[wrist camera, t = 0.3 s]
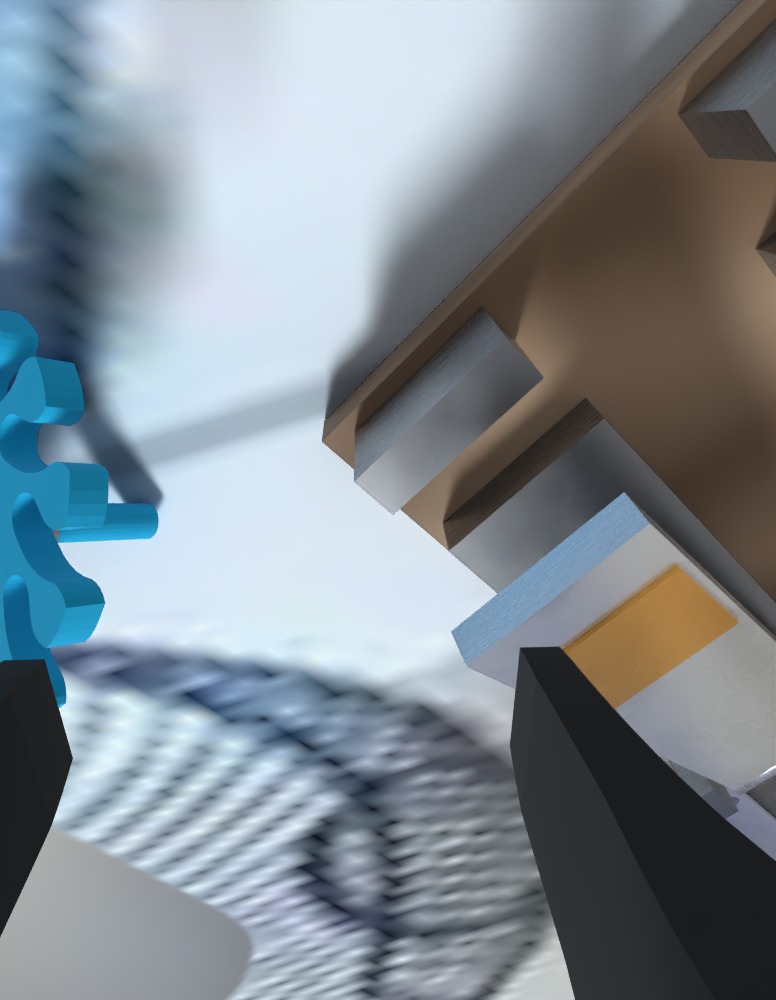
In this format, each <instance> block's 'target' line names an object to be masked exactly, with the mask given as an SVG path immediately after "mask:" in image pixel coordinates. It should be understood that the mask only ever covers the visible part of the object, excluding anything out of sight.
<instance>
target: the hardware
mask: <svg viewBox="0 0 776 1000" xmlns="http://www.w3.org/2000/svg"><path fill="white" fill-rule="evenodd" d="M678 116H679V117H680V118H681V120H682V121H683V123H684V124H685V125H686V127H687V128H688V130H689V131H690V132H691V134H692V135H693V137H694V138H695V139H696V141H697V142H698V144H699V145H700V146H701V148H702V149H703V151H704V152H705V153H706V155H707V156H708V158H717V159H733V160H749V161H765V162H776V18H775V19H774V20H773V21H772V22H771V23H770V24H769V25H768V26H767V27H766V28H765V29H764V30H763V31H762V32H761V33H760V34H759V35H758V36H757V37H756V38H755V39H754V40H753V41H752V42H750V43H749V44H748V45H747V46H746V47H745V48H744V49H743V50H742V51H741V52H740V53H739V54H738V55H737V56H736V57H735V58H734V59H733V60H732V61H731V62H730V63H729V64H728V65H727V66H726V67H725V68H724V69H723V70H722V71H721V72H720V73H719V74H718V75H717V76H716V77H715V78H714V79H713V80H712V81H711V82H710V83H709V84H708V85H707V86H706V87H705V88H704V89H703V90H702V91H701V92H700V93H699V94H697V95H696V96H695V97H694V98H693V99H692V100H691V101H690V102H689V103H688V104H687V105H686V106H685V107H684V108H683V109H682V110H681V111H680V112H679V113H678ZM756 251H757V252H758V253H759V255H760V256H761V257H762V259H763V260H764V262H765V263H766V264H767V266H768V267H769V269H770V270H771V271H772V273H773V274H774V275H775V277H776V231H775V232H774V233H773V234H772V235H771V236H769V237H768V238H767V239H766V240H765V241H764V242H763V243H761V244H760V245H759V246H758V247H757V248H756ZM542 379H544V377H543V376H542V374H541V373H540V372H539V371H538V369H537V368H536V367H535V365H534V364H533V363H532V362H531V360H530V359H529V358H528V356H527V355H526V354H525V352H524V351H523V350H522V349H521V347H520V346H519V345H518V343H517V342H516V341H515V340H514V339H513V337H512V336H511V335H510V334H509V333H508V332H507V331H506V330H505V329H504V328H503V327H502V326H501V325H500V324H499V323H498V322H497V320H496V319H495V318H494V317H493V316H492V315H491V314H490V313H489V312H488V311H487V310H486V309H485V308H484V307H483V306H481V307H480V308H479V309H478V310H477V311H476V312H475V313H474V314H473V315H472V316H471V317H470V318H469V319H468V320H467V321H466V322H465V323H464V324H463V325H462V326H461V327H460V328H459V329H458V330H457V331H456V332H455V333H454V334H453V335H452V336H451V337H450V338H449V339H448V340H447V341H446V342H445V343H444V344H443V345H442V346H441V347H440V348H439V349H438V350H436V351H435V352H434V353H433V354H432V355H431V356H430V357H429V358H428V359H427V360H426V361H425V362H424V363H423V364H422V365H421V366H420V367H419V368H418V369H417V370H416V371H415V372H414V373H413V374H412V375H411V376H410V377H409V378H408V379H407V380H406V381H405V382H404V383H403V384H402V385H401V386H400V387H399V388H398V389H397V390H396V391H395V392H394V393H393V394H392V395H391V396H390V397H389V398H388V399H387V400H386V401H384V402H383V403H382V404H381V405H380V406H379V407H378V408H377V409H376V410H375V411H374V412H373V413H372V414H371V415H370V416H369V417H368V418H367V419H366V420H365V421H364V422H363V423H362V424H361V425H360V426H359V427H358V428H357V429H356V430H355V449H354V482H355V483H356V484H357V485H359V486H360V487H361V488H362V489H363V490H365V491H366V492H367V493H368V494H369V495H370V496H372V497H373V498H374V499H375V500H376V501H377V502H379V503H380V504H381V505H382V506H383V507H384V508H386V509H387V510H388V511H389V512H390V513H391V514H393V515H394V514H395V513H396V512H397V511H398V510H399V509H400V508H401V507H402V506H404V505H405V504H406V503H407V502H408V501H409V500H410V499H411V498H412V497H413V496H415V495H416V494H417V493H418V492H419V491H420V490H421V489H422V488H423V487H425V486H426V485H427V484H428V483H429V482H430V481H431V480H432V479H433V478H434V477H436V476H437V475H438V474H439V473H440V472H441V471H442V470H443V469H444V468H445V467H447V466H448V465H449V464H450V463H451V462H452V461H453V460H454V459H455V458H456V457H458V456H459V455H460V454H461V453H462V452H463V451H464V450H465V449H466V448H468V447H469V446H470V445H471V444H472V443H473V442H474V441H475V440H476V439H477V438H479V437H480V436H481V435H482V434H483V433H484V432H485V431H486V430H487V429H488V428H490V427H491V426H492V425H493V424H494V423H495V422H496V421H497V420H498V419H499V418H501V417H502V416H503V415H504V414H505V413H506V412H507V411H508V410H509V409H511V408H512V407H513V406H514V405H515V404H516V403H517V402H518V401H519V400H520V399H522V398H523V397H524V396H525V395H526V394H527V393H528V392H529V391H530V390H531V389H533V388H534V387H535V386H536V385H537V384H538V383H539V382H540V381H541V380H542ZM623 492H625V493H626V494H627V495H628V496H629V497H630V498H631V499H632V500H633V501H634V502H635V503H636V504H637V505H638V506H639V507H640V508H641V509H643V510H644V511H645V512H646V513H647V514H648V515H649V516H650V517H651V518H652V519H653V520H654V521H655V522H656V523H657V524H658V525H659V526H660V527H661V528H662V529H663V530H664V531H666V532H667V533H668V534H669V535H670V536H671V537H672V538H673V539H674V540H675V541H676V542H677V543H678V544H679V545H680V546H681V547H682V548H683V549H684V550H685V551H686V552H687V553H689V554H690V555H691V556H692V557H693V558H694V559H695V560H696V561H697V562H698V563H699V564H700V565H701V566H702V567H703V568H704V569H705V570H706V571H707V572H708V573H709V574H710V575H712V576H713V577H714V578H715V579H716V580H717V581H718V582H719V583H720V584H721V585H722V586H723V587H724V588H725V589H726V590H727V591H728V592H729V593H730V594H731V595H732V596H733V597H735V598H736V599H737V600H738V601H739V602H740V603H741V604H742V605H743V606H744V607H745V608H746V609H747V610H748V611H749V612H750V613H751V614H752V615H753V616H754V617H755V618H756V619H758V620H759V621H760V622H761V623H762V624H763V625H764V626H765V627H766V628H767V629H768V630H769V631H770V632H771V633H772V634H773V635H774V636H775V637H776V602H775V601H774V600H773V599H772V598H771V597H770V595H769V594H768V593H767V592H766V591H765V590H764V589H763V588H762V587H761V586H760V585H759V584H758V583H757V581H756V580H755V579H754V578H753V577H752V576H751V575H750V574H749V573H748V572H747V571H746V570H745V568H744V567H743V566H742V565H741V564H740V563H739V562H738V561H737V560H736V559H735V558H734V557H733V556H732V554H731V553H730V552H729V551H728V550H727V549H726V548H725V547H724V546H723V545H722V544H721V543H720V542H719V540H718V539H717V538H716V537H715V536H714V535H713V534H712V533H711V532H710V531H709V530H708V529H707V528H706V526H705V525H704V524H703V523H702V522H701V521H700V520H699V519H698V518H697V517H696V516H695V515H694V514H693V512H692V511H691V510H690V509H689V508H688V507H687V506H686V505H685V504H684V503H683V502H682V501H681V500H680V498H679V497H678V496H677V495H676V494H675V493H674V492H673V491H672V490H671V489H670V488H669V487H668V486H667V484H666V483H665V482H664V481H663V480H662V479H661V478H660V477H659V476H658V475H657V474H656V473H655V471H654V470H653V469H652V468H651V467H650V466H649V465H648V464H647V463H646V462H645V461H644V460H643V459H642V457H641V456H640V455H639V454H638V453H637V452H636V451H635V450H634V449H633V448H632V447H631V446H630V445H629V443H628V442H627V441H626V440H625V439H624V438H623V437H622V436H621V435H620V434H619V433H618V432H617V431H616V429H615V428H614V427H613V426H612V425H611V424H610V423H609V422H608V421H607V420H606V419H605V418H604V417H603V415H602V414H601V413H600V412H599V411H598V410H597V409H596V408H595V407H594V406H593V405H592V404H591V403H590V401H589V400H588V399H587V398H584V399H583V400H582V401H581V402H580V403H579V404H578V405H576V406H575V407H574V408H573V409H572V410H571V411H570V412H568V413H567V414H566V415H565V416H564V417H563V418H562V419H560V420H559V421H558V422H557V423H556V424H555V425H554V426H552V427H551V428H550V429H549V430H548V431H547V432H546V433H544V434H543V435H542V436H541V437H540V438H539V439H538V440H536V441H535V442H534V443H533V444H532V445H531V446H530V447H528V448H527V449H526V450H525V451H524V452H523V453H522V454H521V455H519V456H518V457H517V458H516V459H515V460H514V461H513V462H511V463H510V464H509V465H508V466H507V467H506V468H505V469H503V470H502V471H501V472H500V473H499V474H498V475H497V476H495V477H494V478H493V479H492V480H491V481H490V482H489V483H487V484H486V485H485V486H484V487H483V488H482V489H481V490H479V491H478V492H477V493H476V494H475V495H474V496H473V497H471V498H470V499H469V500H468V501H467V502H466V503H465V504H463V505H462V506H461V507H460V508H459V509H458V510H457V511H455V512H454V513H453V514H452V515H451V516H450V517H449V518H447V519H446V520H445V521H444V522H443V527H444V532H445V536H446V541H447V545H448V550H449V552H450V553H451V554H453V555H454V556H455V557H456V558H457V559H458V560H459V561H461V562H462V563H463V564H464V565H465V566H466V567H468V568H469V569H470V570H471V571H472V572H473V573H475V574H476V575H477V576H478V577H479V578H480V579H482V580H483V581H484V582H485V583H486V584H487V585H489V586H490V587H491V588H492V589H493V590H494V591H495V592H497V593H500V592H501V591H502V590H503V589H505V588H506V587H507V586H508V585H510V584H511V583H512V582H513V581H515V580H516V579H517V578H518V577H519V576H521V575H522V574H523V573H524V572H526V571H527V570H528V569H529V568H531V567H532V566H533V565H534V564H536V563H537V562H538V561H539V560H541V559H542V558H543V557H544V556H545V555H547V554H548V553H549V552H550V551H552V550H553V549H554V548H555V547H557V546H558V545H559V544H560V543H562V542H563V541H564V540H565V539H567V538H568V537H569V536H570V535H571V534H573V533H574V532H575V531H576V530H578V529H579V528H580V527H581V526H583V525H584V524H585V523H586V522H588V521H589V520H590V519H591V518H593V517H594V516H595V515H596V514H597V513H599V512H600V511H601V510H602V509H604V508H605V507H606V506H607V505H609V504H610V503H611V502H612V501H614V500H615V499H616V498H617V497H619V496H620V495H621V494H622V493H623ZM670 762H671V764H672V766H673V768H674V770H675V772H676V774H677V775H678V776H679V777H681V778H682V779H683V780H684V781H685V782H686V783H687V784H688V785H689V786H690V787H691V788H692V789H693V790H694V791H695V792H696V793H697V794H698V795H699V796H701V797H702V798H703V799H704V800H705V801H706V802H707V803H708V804H709V805H710V806H711V807H712V808H714V809H715V810H716V811H717V812H718V813H719V814H720V815H721V816H722V817H724V818H725V819H726V818H728V817H730V816H731V815H733V814H735V813H736V812H738V811H739V810H738V809H737V807H736V805H735V803H734V802H733V800H732V798H731V796H730V794H729V793H728V791H727V789H726V787H725V786H724V785H722V784H719V783H717V782H715V781H713V780H711V779H709V778H706V777H704V776H702V775H700V774H698V773H696V772H693V771H691V770H689V769H687V768H685V767H683V766H681V765H678V764H676V763H674V762H672V761H670Z"/></svg>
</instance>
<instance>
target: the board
mask: <svg viewBox="0 0 776 1000" xmlns="http://www.w3.org/2000/svg"><path fill="white" fill-rule="evenodd" d="M775 18H776V0H742V1H741V2H740V3H739V4H738V5H737V6H736V7H735V8H734V9H733V10H732V11H731V12H730V13H729V14H728V15H727V16H726V17H725V18H724V19H723V20H722V21H721V22H720V23H719V24H718V25H717V26H716V27H715V28H714V29H713V30H712V31H711V32H710V33H709V34H708V35H707V36H706V37H705V38H704V39H703V41H702V42H701V43H700V44H699V45H698V46H697V47H696V48H695V49H694V50H693V51H692V52H691V53H690V54H689V55H688V56H687V57H686V58H685V59H684V60H683V61H682V62H681V63H680V64H679V65H678V66H677V67H676V68H675V69H674V70H673V71H672V72H671V73H670V74H669V75H668V76H667V77H666V78H665V79H664V80H663V81H662V82H661V83H660V84H659V85H658V86H657V87H656V88H655V89H654V90H653V91H652V92H651V93H650V94H649V95H648V96H647V97H646V98H645V99H644V100H643V101H642V102H641V103H640V104H639V105H638V106H637V107H636V108H635V109H634V110H633V111H632V112H631V113H630V114H629V115H628V116H627V117H626V118H625V119H624V120H623V121H622V122H621V123H620V124H619V125H618V126H617V127H616V128H615V129H614V130H613V131H612V132H611V133H610V134H609V135H608V136H607V137H606V138H605V139H604V140H603V141H602V142H601V143H600V144H599V145H598V146H597V147H596V148H595V149H594V150H593V151H592V152H591V153H590V154H589V155H588V156H587V157H586V158H585V159H584V160H583V161H582V162H581V163H580V164H579V165H578V166H577V167H576V168H575V169H574V170H573V171H572V172H571V173H570V174H569V175H568V176H567V177H566V178H565V179H564V180H563V181H562V182H561V183H560V184H559V185H558V186H557V187H556V188H555V189H554V190H553V191H552V192H551V193H550V194H549V195H548V196H547V197H546V198H545V199H544V200H543V201H542V202H541V203H540V204H539V205H538V206H537V207H536V208H535V209H534V210H533V212H532V213H531V214H530V215H529V216H528V217H527V218H526V219H525V220H524V221H523V222H522V223H521V224H520V225H519V226H518V227H517V228H516V229H515V230H514V231H513V232H512V233H511V234H510V235H509V236H508V237H507V238H506V239H505V240H504V241H503V242H502V243H501V244H500V245H499V246H498V247H497V248H496V249H495V250H494V251H493V252H492V253H491V254H490V255H489V256H488V257H487V258H486V259H485V260H484V261H483V262H482V263H481V264H480V265H479V266H478V267H477V268H476V269H475V270H474V271H473V272H472V273H471V274H470V275H469V276H468V277H467V278H466V279H465V280H464V281H463V282H462V283H461V284H460V285H459V286H458V287H457V288H456V289H455V290H454V291H453V292H452V293H451V294H450V295H449V296H448V297H447V298H446V299H445V300H444V301H443V302H442V303H441V304H440V305H439V306H438V307H437V308H436V309H435V310H434V311H433V312H432V313H431V314H430V315H429V316H428V317H427V318H426V319H425V320H424V321H423V322H422V323H421V324H420V325H419V326H418V327H417V328H416V329H415V330H414V331H413V332H412V333H411V334H410V335H409V336H408V337H407V338H406V339H405V340H404V341H403V342H402V343H401V344H400V345H399V346H398V347H397V348H396V349H395V350H394V351H393V352H392V353H391V354H390V355H389V356H388V357H387V358H386V359H385V360H384V361H383V362H382V363H381V364H380V365H379V366H378V367H377V368H376V369H375V370H374V371H373V372H372V373H371V374H370V375H369V376H368V377H367V378H366V379H365V380H364V382H363V383H362V384H361V385H360V386H359V387H358V388H357V389H356V390H355V391H354V392H353V393H352V394H351V395H350V396H349V397H348V398H347V399H346V400H345V401H344V402H343V403H342V404H341V405H340V406H339V407H338V408H337V409H336V410H335V411H334V412H333V413H332V414H331V415H330V416H329V417H328V418H327V419H326V420H325V421H324V429H323V437H322V442H323V443H324V444H325V445H326V446H328V447H329V448H330V449H331V450H332V451H333V452H335V453H336V454H337V455H338V456H339V457H340V458H342V459H343V460H344V461H345V462H346V463H347V464H349V465H350V466H351V467H352V468H353V469H354V449H355V430H356V429H357V428H358V427H359V426H360V425H361V424H362V423H363V422H364V421H365V420H366V419H367V418H368V417H369V416H370V415H371V414H372V413H373V412H374V411H375V410H376V409H377V408H378V407H379V406H380V405H381V404H382V403H383V402H384V401H386V400H387V399H388V398H389V397H390V396H391V395H392V394H393V393H394V392H395V391H396V390H397V389H398V388H399V387H400V386H401V385H402V384H403V383H404V382H405V381H406V380H407V379H408V378H409V377H410V376H411V375H412V374H413V373H414V372H415V371H416V370H417V369H418V368H419V367H420V366H421V365H422V364H423V363H424V362H425V361H426V360H427V359H428V358H429V357H430V356H431V355H432V354H433V353H434V352H435V351H436V350H438V349H439V348H440V347H441V346H442V345H443V344H444V343H445V342H446V341H447V340H448V339H449V338H450V337H451V336H452V335H453V334H454V333H455V332H456V331H457V330H458V329H459V328H460V327H461V326H462V325H463V324H464V323H465V322H466V321H467V320H468V319H469V318H470V317H471V316H472V315H473V314H474V313H475V312H476V311H477V310H478V309H479V308H480V307H481V306H483V307H484V308H485V309H486V310H487V311H488V312H489V313H490V314H491V315H492V316H493V317H494V318H495V319H496V320H497V322H498V323H499V324H500V325H501V326H502V327H503V328H504V329H505V330H506V331H507V332H508V333H509V334H510V335H511V336H512V337H513V339H514V340H515V341H516V342H517V343H518V345H519V346H520V347H521V349H522V350H523V351H524V352H525V354H526V355H527V356H528V358H529V359H530V360H531V362H532V363H533V364H534V365H535V367H536V368H537V369H538V371H539V372H540V373H541V374H542V376H543V377H544V379H542V380H541V381H540V382H539V383H538V384H537V385H536V386H535V387H534V388H533V389H531V390H530V391H529V392H528V393H527V394H526V395H525V396H524V397H523V398H522V399H520V400H519V401H518V402H517V403H516V404H515V405H514V406H513V407H512V408H511V409H509V410H508V411H507V412H506V413H505V414H504V415H503V416H502V417H501V418H499V419H498V420H497V421H496V422H495V423H494V424H493V425H492V426H491V427H490V428H488V429H487V430H486V431H485V432H484V433H483V434H482V435H481V436H480V437H479V438H477V439H476V440H475V441H474V442H473V443H472V444H471V445H470V446H469V447H468V448H466V449H465V450H464V451H463V452H462V453H461V454H460V455H459V456H458V457H456V458H455V459H454V460H453V461H452V462H451V463H450V464H449V465H448V466H447V467H445V468H444V469H443V470H442V471H441V472H440V473H439V474H438V475H437V476H436V477H434V478H433V479H432V480H431V481H430V482H429V483H428V484H427V485H426V486H425V487H423V488H422V489H421V490H420V491H419V492H418V493H417V494H416V495H415V496H413V497H412V498H411V499H410V500H409V501H408V502H407V503H406V504H405V505H404V506H402V507H401V508H400V509H401V510H402V511H403V512H404V513H405V514H407V515H408V516H409V517H410V518H411V519H412V520H413V521H415V522H416V523H417V524H418V525H419V526H420V527H422V528H423V529H424V530H425V531H426V532H427V533H429V534H430V535H431V536H432V537H433V538H434V539H436V540H437V541H438V542H439V543H440V544H441V545H442V546H444V547H445V548H446V549H447V550H448V545H447V541H446V536H445V532H444V527H443V522H444V521H445V520H446V519H447V518H449V517H450V516H451V515H452V514H453V513H454V512H455V511H457V510H458V509H459V508H460V507H461V506H462V505H463V504H465V503H466V502H467V501H468V500H469V499H470V498H471V497H473V496H474V495H475V494H476V493H477V492H478V491H479V490H481V489H482V488H483V487H484V486H485V485H486V484H487V483H489V482H490V481H491V480H492V479H493V478H494V477H495V476H497V475H498V474H499V473H500V472H501V471H502V470H503V469H505V468H506V467H507V466H508V465H509V464H510V463H511V462H513V461H514V460H515V459H516V458H517V457H518V456H519V455H521V454H522V453H523V452H524V451H525V450H526V449H527V448H528V447H530V446H531V445H532V444H533V443H534V442H535V441H536V440H538V439H539V438H540V437H541V436H542V435H543V434H544V433H546V432H547V431H548V430H549V429H550V428H551V427H552V426H554V425H555V424H556V423H557V422H558V421H559V420H560V419H562V418H563V417H564V416H565V415H566V414H567V413H568V412H570V411H571V410H572V409H573V408H574V407H575V406H576V405H578V404H579V403H580V402H581V401H582V400H583V399H584V398H587V399H588V400H589V401H590V403H591V404H592V405H593V406H594V407H595V408H596V409H597V410H598V411H599V412H600V413H601V414H602V415H603V417H604V418H605V419H606V420H607V421H608V422H609V423H610V424H611V425H612V426H613V427H614V428H615V429H616V431H617V432H618V433H619V434H620V435H621V436H622V437H623V438H624V439H625V440H626V441H627V442H628V443H629V445H630V446H631V447H632V448H633V449H634V450H635V451H636V452H637V453H638V454H639V455H640V456H641V457H642V459H643V460H644V461H645V462H646V463H647V464H648V465H649V466H650V467H651V468H652V469H653V470H654V471H655V473H656V474H657V475H658V476H659V477H660V478H661V479H662V480H663V481H664V482H665V483H666V484H667V486H668V487H669V488H670V489H671V490H672V491H673V492H674V493H675V494H676V495H677V496H678V497H679V498H680V500H681V501H682V502H683V503H684V504H685V505H686V506H687V507H688V508H689V509H690V510H691V511H692V512H693V514H694V515H695V516H696V517H697V518H698V519H699V520H700V521H701V522H702V523H703V524H704V525H705V526H706V528H707V529H708V530H709V531H710V532H711V533H712V534H713V535H714V536H715V537H716V538H717V539H718V540H719V542H720V543H721V544H722V545H723V546H724V547H725V548H726V549H727V550H728V551H729V552H730V553H731V554H732V556H733V557H734V558H735V559H736V560H737V561H738V562H739V563H740V564H741V565H742V566H743V567H744V568H745V570H746V571H747V572H748V573H749V574H750V575H751V576H752V577H753V578H754V579H755V580H756V581H757V583H758V584H759V585H760V586H761V587H762V588H763V589H764V590H765V591H766V592H767V593H768V594H769V595H770V597H771V598H772V599H773V600H774V601H775V602H776V277H775V275H774V274H773V273H772V271H771V270H770V269H769V267H768V266H767V264H766V263H765V262H764V260H763V259H762V257H761V256H760V255H759V253H758V252H757V251H756V248H757V247H758V246H759V245H760V244H761V243H763V242H764V241H765V240H766V239H767V238H768V237H769V236H771V235H772V234H773V233H774V232H775V231H776V162H765V161H749V160H733V159H717V158H708V156H707V155H706V153H705V152H704V151H703V149H702V148H701V146H700V145H699V144H698V142H697V141H696V139H695V138H694V137H693V135H692V134H691V132H690V131H689V130H688V128H687V127H686V125H685V124H684V123H683V121H682V120H681V118H680V117H679V116H678V113H679V112H680V111H681V110H682V109H683V108H684V107H685V106H686V105H687V104H688V103H689V102H690V101H691V100H692V99H693V98H694V97H695V96H696V95H697V94H699V93H700V92H701V91H702V90H703V89H704V88H705V87H706V86H707V85H708V84H709V83H710V82H711V81H712V80H713V79H714V78H715V77H716V76H717V75H718V74H719V73H720V72H721V71H722V70H723V69H724V68H725V67H726V66H727V65H728V64H729V63H730V62H731V61H732V60H733V59H734V58H735V57H736V56H737V55H738V54H739V53H740V52H741V51H742V50H743V49H744V48H745V47H746V46H747V45H748V44H749V43H750V42H752V41H753V40H754V39H755V38H756V37H757V36H758V35H759V34H760V33H761V32H762V31H763V30H764V29H765V28H766V27H767V26H768V25H769V24H770V23H771V22H772V21H773V20H774V19H775ZM448 551H449V550H448Z"/></svg>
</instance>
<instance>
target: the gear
mask: <svg viewBox="0 0 776 1000" xmlns="http://www.w3.org/2000/svg"><path fill="white" fill-rule="evenodd" d="M38 345H39V337H38V335H37V333H36V331H35V329H34V327H33V326H32V325H31V323H30V322H29V321H28V320H27V319H26V318H24V317H23V316H22V315H21V314H20V313H16V312H11V311H7V310H2V309H0V663H1V662H2V661H3V660H31V659H45V662H46V666H47V669H48V673H49V676H50V680H51V683H52V687H53V690H54V694H55V697H56V701H57V704H58V708H60V707H61V706H62V705H64V704H65V703H66V686H65V682H64V678H63V676H62V673H61V671H60V670H59V668H58V666H57V664H56V663H55V660H54V658H53V656H52V654H51V651H50V648H51V647H57V646H62V645H68V644H74V643H80V642H85V641H86V640H87V639H88V638H89V637H90V636H91V634H92V633H93V631H94V629H95V627H96V625H97V623H98V621H99V619H100V616H101V613H102V610H103V608H104V605H105V601H104V597H103V594H102V592H101V589H100V588H99V586H98V585H97V583H96V582H94V581H93V580H92V579H89V578H87V577H84V576H82V575H81V574H79V573H78V572H76V571H75V569H74V568H73V567H72V566H71V565H70V564H69V563H68V561H67V560H66V558H65V557H64V555H63V553H62V551H61V549H60V547H59V545H58V543H63V542H85V541H107V540H128V539H149V538H151V537H153V536H154V535H155V533H156V531H157V528H158V514H157V511H156V509H155V508H154V507H153V506H152V505H151V504H134V503H108V471H107V470H106V469H105V468H104V467H103V466H101V465H98V464H84V463H64V462H55V463H52V464H50V465H49V466H47V465H45V464H44V463H43V462H42V461H41V459H40V457H39V454H38V450H37V436H38V431H39V429H40V426H41V425H42V423H45V424H55V425H65V426H71V425H74V424H75V423H77V422H78V421H79V420H80V418H81V417H82V415H83V413H84V397H83V391H82V387H81V383H80V379H79V376H78V373H77V370H76V367H75V364H74V363H69V362H64V361H58V360H52V359H47V358H41V357H35V355H36V353H37V349H38ZM17 372H18V374H17V376H16V379H15V381H14V383H13V385H12V387H11V389H10V391H9V392H8V394H7V391H8V386H9V383H10V380H11V378H12V377H13V375H14V374H16V373H17Z"/></svg>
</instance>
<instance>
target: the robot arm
mask: <svg viewBox="0 0 776 1000" xmlns="http://www.w3.org/2000/svg"><path fill="white" fill-rule="evenodd" d="M510 749H511V755H512V761H513V767H514V773H515V779H516V785H517V790H518V795H519V801H520V806H521V811H522V815H523V818H524V822H525V825H526V829H527V832H528V836H529V839H530V842H531V846H532V849H533V853H534V856H535V860H536V863H537V866H538V870H539V873H540V877H541V880H542V883H543V887H544V890H545V893H546V897H547V900H548V904H549V907H550V910H551V914H552V917H553V921H554V924H555V927H556V931H557V934H558V937H559V941H560V944H561V948H562V951H563V954H564V958H565V961H566V965H567V969H568V973H569V977H570V981H571V985H572V989H573V993H574V997H575V1000H776V819H775V818H774V817H773V816H772V815H770V814H769V813H768V812H767V811H766V810H765V809H764V808H762V807H761V806H760V805H759V804H758V803H757V802H756V801H754V800H753V799H752V798H751V797H750V796H749V795H748V794H746V793H744V794H743V795H739V794H738V793H737V792H736V791H735V790H732V789H730V788H728V787H726V786H725V787H726V789H727V791H728V793H729V794H730V796H731V798H732V800H733V802H734V803H735V805H736V807H737V809H738V810H739V811H738V812H736V813H735V814H733V815H731V816H730V817H728V818H726V819H725V818H724V817H722V816H721V815H720V814H719V813H718V812H717V811H716V810H715V809H714V808H712V807H711V806H710V805H709V804H708V803H707V802H706V801H705V800H704V799H703V798H702V797H701V796H699V795H698V794H697V793H696V792H695V791H694V790H693V789H692V788H691V787H690V786H689V785H688V784H687V783H686V782H685V781H684V780H683V779H682V778H681V777H679V776H678V775H677V774H676V773H675V772H674V771H673V770H672V769H671V768H670V767H669V766H668V765H667V764H666V763H665V762H664V761H663V760H662V759H661V758H660V757H659V756H658V755H657V754H656V753H655V752H654V751H653V749H652V748H651V747H650V746H649V745H648V744H647V743H646V742H645V741H644V740H643V739H642V738H641V737H640V736H639V735H638V734H637V733H636V732H635V731H634V730H633V728H632V727H631V726H630V725H629V724H628V723H627V722H626V721H625V720H624V719H623V718H622V717H621V716H620V714H619V713H618V712H617V711H616V710H615V709H614V708H613V707H612V706H611V704H610V703H609V702H608V701H607V700H606V699H605V698H604V697H603V695H602V694H601V693H600V692H599V691H598V690H597V689H596V687H595V686H594V685H593V684H592V683H591V682H590V681H589V679H588V678H587V677H586V676H585V675H584V674H583V672H582V671H581V670H580V669H579V668H578V667H577V665H576V664H575V663H574V662H573V661H572V659H571V658H570V657H569V656H568V655H567V654H566V653H565V652H564V651H563V650H562V649H561V648H560V647H559V646H556V647H520V651H519V661H518V671H517V681H516V691H515V701H514V711H513V721H512V731H511V741H510ZM72 759H73V757H72V754H71V750H70V747H69V743H68V740H67V736H66V733H65V729H64V726H63V722H62V718H61V715H60V711H59V708H58V704H57V701H56V697H55V694H54V690H53V687H52V683H51V680H50V676H49V673H48V669H47V666H46V662H45V659H31V660H3V661H2V662H1V663H0V936H1V934H2V932H3V930H4V928H5V926H6V923H7V921H8V919H9V917H10V915H11V913H12V910H13V908H14V906H15V904H16V902H17V900H18V897H19V896H20V893H21V891H22V889H23V887H24V885H25V883H26V880H27V878H28V876H29V874H30V872H31V870H32V867H33V865H34V863H35V861H36V859H37V856H38V854H39V852H40V850H41V848H42V845H43V843H44V841H45V839H46V837H47V834H48V832H49V830H50V827H51V825H52V823H53V820H54V817H55V814H56V811H57V808H58V805H59V802H60V799H61V796H62V793H63V789H64V786H65V783H66V779H67V776H68V773H69V769H70V766H71V763H72Z"/></svg>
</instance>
